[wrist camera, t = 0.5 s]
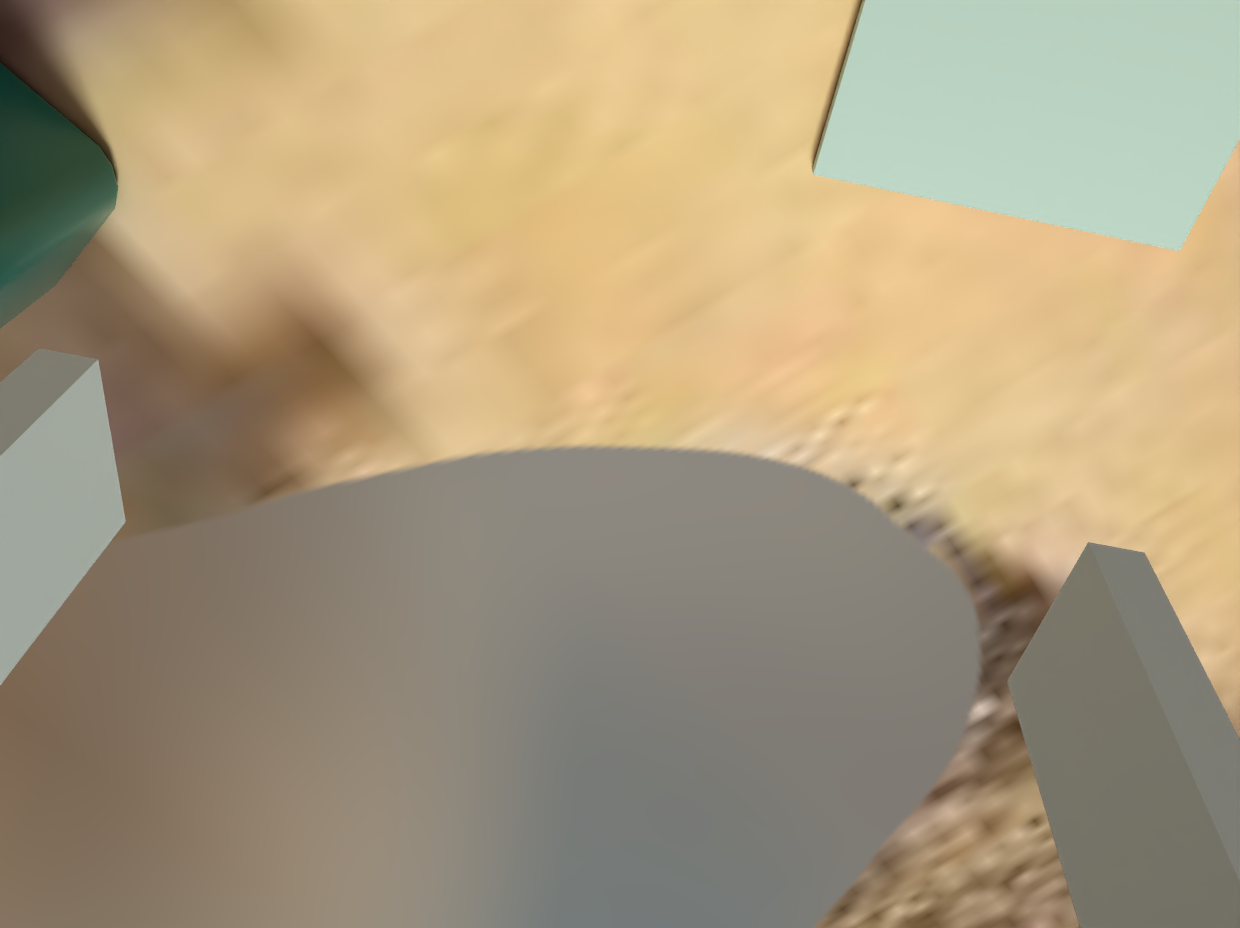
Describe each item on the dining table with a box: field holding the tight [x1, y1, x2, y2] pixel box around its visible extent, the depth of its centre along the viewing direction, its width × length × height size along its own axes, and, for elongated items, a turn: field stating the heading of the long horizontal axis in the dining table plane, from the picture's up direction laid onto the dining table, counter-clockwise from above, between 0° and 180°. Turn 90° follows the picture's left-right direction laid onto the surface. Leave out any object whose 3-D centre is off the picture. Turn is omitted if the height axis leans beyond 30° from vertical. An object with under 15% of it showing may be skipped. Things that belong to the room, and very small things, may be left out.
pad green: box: [812, 0, 1240, 251], centre depth 33 cm, size 14×14×1 cm
